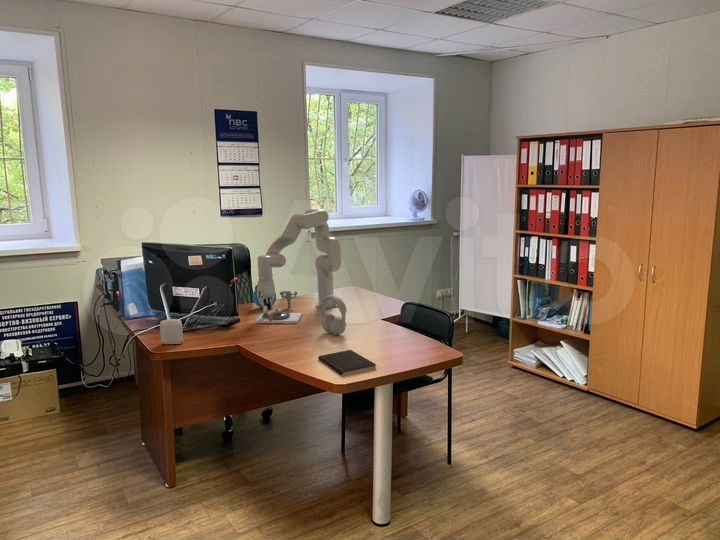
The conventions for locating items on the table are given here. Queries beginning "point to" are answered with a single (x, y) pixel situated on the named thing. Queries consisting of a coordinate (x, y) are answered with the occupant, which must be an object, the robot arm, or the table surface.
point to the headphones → (329, 320)
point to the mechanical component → (288, 296)
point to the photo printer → (171, 330)
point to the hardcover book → (347, 362)
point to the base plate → (292, 319)
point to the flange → (275, 313)
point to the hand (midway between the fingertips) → (267, 309)
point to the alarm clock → (260, 303)
